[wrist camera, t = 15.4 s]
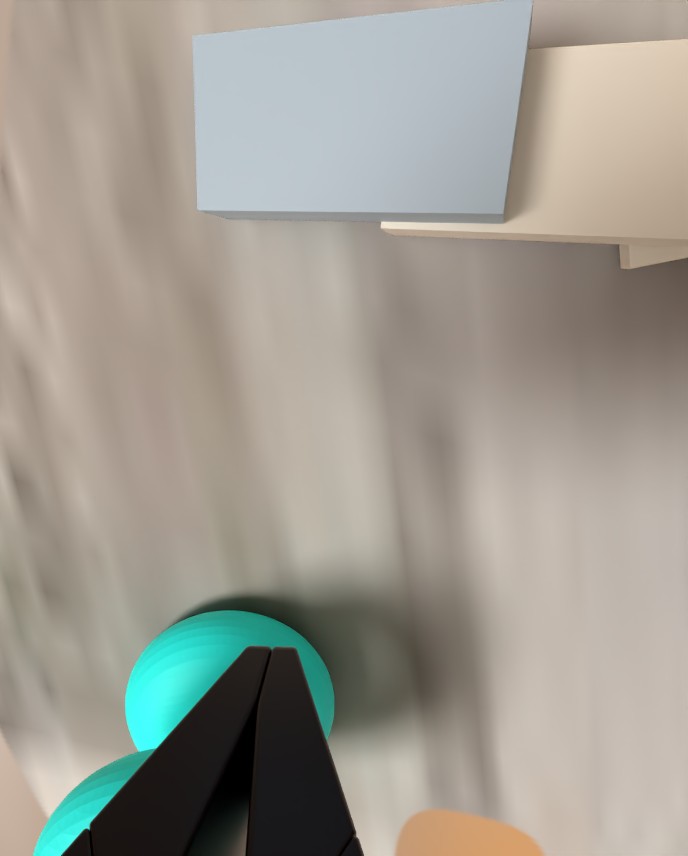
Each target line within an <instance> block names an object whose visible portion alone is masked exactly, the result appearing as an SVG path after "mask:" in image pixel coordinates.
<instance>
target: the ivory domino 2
mask: <svg viewBox="0 0 688 856" xmlns="http://www.w3.org/2000/svg"><path fill="white" fill-rule="evenodd" d="M619 247H620V264H621V268H622V269H633V268H638V267H643V266H648V265H653V264H658V263H663V262H668V261H673V260H678V259H683V258H688V247H675V246H649V245H624V244H619Z"/></svg>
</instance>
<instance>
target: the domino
mask: <svg viewBox="0 0 688 856" xmlns="http://www.w3.org/2000/svg"><path fill="white" fill-rule="evenodd" d="M532 9H533V0H503V1H494V2H485V3H476V4H467V5H459V6H450V7H441V8H432V9H423V10H415V11H406V12H397V13H388V14H379V15H371V16H362V17H353V18H344V19H335V20H327V21H318V22H309V23H300V24H291V25H282V26H274V27H265V28H256V29H247V30H238V31H230V32H221V33H212V34H203V35H194V36H193V69H194V104H195V138H196V173H197V207H198V211H202V212H205V213H209V214H212V215H216V216H219V217H223V218H226V219H244V220H303V221H362V222H421V223H480V224H503V223H504V216H505V209H506V202H507V195H508V188H509V181H510V174H511V167H512V160H513V153H514V146H515V139H516V132H517V125H518V118H519V111H520V104H521V97H522V90H523V83H524V76H525V69H526V62H527V55H528V48H529V40H530V31H531V20H532Z"/></svg>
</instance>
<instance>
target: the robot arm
mask: <svg viewBox="0 0 688 856" xmlns="http://www.w3.org/2000/svg"><path fill="white" fill-rule="evenodd" d="M89 828H90V830H89V829H87V828H86V829H84V830H83V831H82V832H81V833H80V834H79V835H78V837H77V838H76V839H75V840H74V841H73V842H72V843H71V845H70V846H69V847H68V848H67V849H66V850H65V851H64V852H63V853H62V855H61V856H364V854H363V851H362V848H361V844H360V841H359V839H358V838H357V837H356V830H355V827H354V824H353V821H352V818H351V815H350V811H349V808H348V805H347V802H346V799H345V796H344V793H343V790H342V787H341V784H340V781H339V777H338V774H337V771H336V768H335V765H334V762H333V759H332V756H331V753H330V750H329V747H328V743H327V740H326V737H325V734H324V731H323V728H322V725H321V722H320V719H319V716H318V713H317V709H316V706H315V703H314V700H313V697H312V694H311V691H310V688H309V685H308V682H307V679H306V676H305V672H304V669H303V666H302V663H301V660H300V657H299V654H298V651H297V649H296V648H295V647H280V646H276V647H274V648H273V649H271V648H270V647H269V646H248V647H247V648H245V649H244V651H243V652H242V653H241V654H240V655H239V656H238V657H237V658H236V660H235V661H234V662H233V663H232V664H231V665H230V666H229V667H228V669H227V670H226V671H225V672H224V673H223V674H222V675H221V676H220V678H219V679H218V680H217V681H216V682H215V683H214V684H213V685H212V687H211V688H210V689H209V690H208V691H207V692H206V693H205V694H204V695H203V697H202V698H201V699H200V700H199V701H198V702H197V703H196V704H195V706H194V707H193V708H192V709H191V710H190V711H189V712H188V713H187V715H186V716H185V717H184V718H183V719H182V720H181V721H180V722H179V724H178V725H177V726H176V727H175V728H174V729H173V730H172V731H171V733H170V734H169V735H168V736H167V737H166V738H165V739H164V740H163V742H162V743H161V744H160V745H159V746H158V747H157V748H156V749H155V751H154V752H153V753H152V754H151V755H150V756H149V757H148V758H147V760H146V761H145V762H144V763H143V764H142V765H141V766H140V767H139V768H138V770H137V771H136V772H135V773H134V774H133V775H132V776H131V777H130V779H129V780H128V781H127V782H126V783H125V784H124V785H123V786H122V788H121V789H120V790H119V791H118V792H117V793H116V794H115V795H114V797H113V798H112V799H111V800H110V801H109V802H108V803H107V804H106V806H105V807H104V808H103V809H102V810H101V811H100V812H99V813H98V815H97V816H96V817H95V818H94V819H93V820H92V821H91V822H90V825H89Z"/></svg>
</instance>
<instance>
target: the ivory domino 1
mask: <svg viewBox="0 0 688 856" xmlns="http://www.w3.org/2000/svg"><path fill="white" fill-rule="evenodd" d="M381 229H383V230H384V231H386V232H388V233H389V234H391V235H398V236H423V237H448V238H474V239H499V240H524V241H549V242H574V243H599V244H624V245H649V246H675V247H688V39H678V40H662V41H646V42H631V43H615V44H599V45H583V46H567V47H551V48H535V49H528V55H527V62H526V69H525V76H524V83H523V90H522V97H521V104H520V111H519V118H518V125H517V132H516V139H515V146H514V153H513V160H512V167H511V174H510V181H509V188H508V195H507V202H506V209H505V216H504V223H503V224H480V223H421V222H381Z"/></svg>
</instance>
